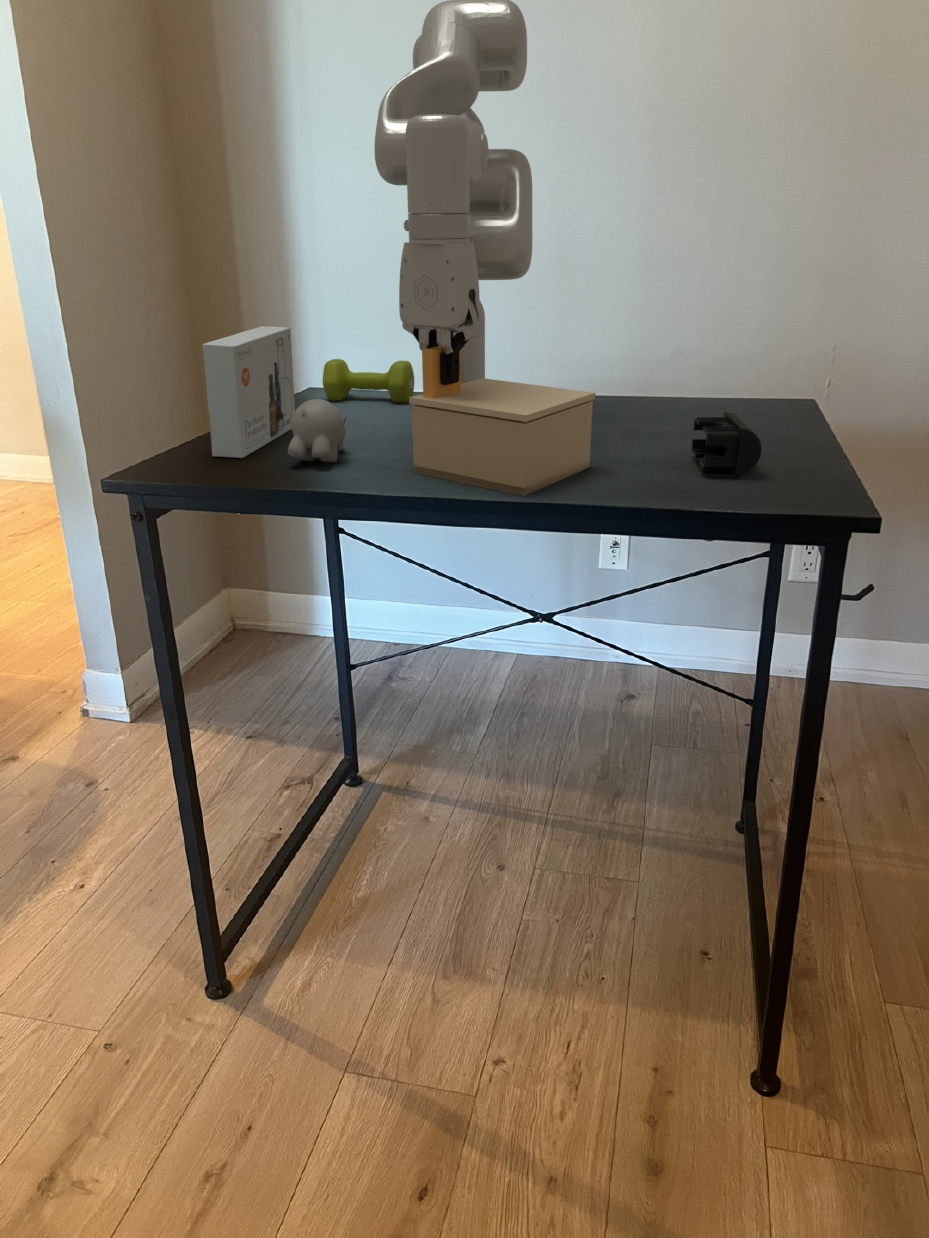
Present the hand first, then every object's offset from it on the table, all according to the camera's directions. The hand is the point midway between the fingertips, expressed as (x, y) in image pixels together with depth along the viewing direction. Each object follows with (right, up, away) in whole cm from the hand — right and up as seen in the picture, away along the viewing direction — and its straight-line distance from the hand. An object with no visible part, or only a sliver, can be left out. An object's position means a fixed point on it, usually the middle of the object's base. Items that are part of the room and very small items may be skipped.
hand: (442, 381), depth 117 cm
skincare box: (-29, -4, +20) cm, 36 cm away
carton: (+8, -11, +4) cm, 14 cm away
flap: (+8, -3, 0) cm, 8 cm away
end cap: (+38, -11, +4) cm, 40 cm away
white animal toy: (-17, -9, +10) cm, 22 cm away
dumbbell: (-15, +9, +47) cm, 50 cm away
